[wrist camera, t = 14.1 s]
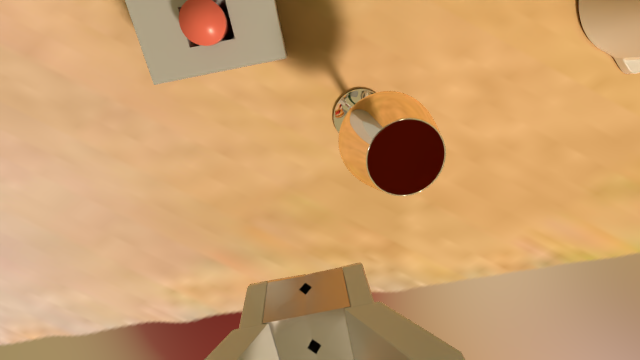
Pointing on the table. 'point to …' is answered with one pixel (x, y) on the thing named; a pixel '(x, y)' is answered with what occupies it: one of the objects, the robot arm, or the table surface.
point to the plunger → (204, 22)
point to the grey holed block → (195, 60)
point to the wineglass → (389, 141)
